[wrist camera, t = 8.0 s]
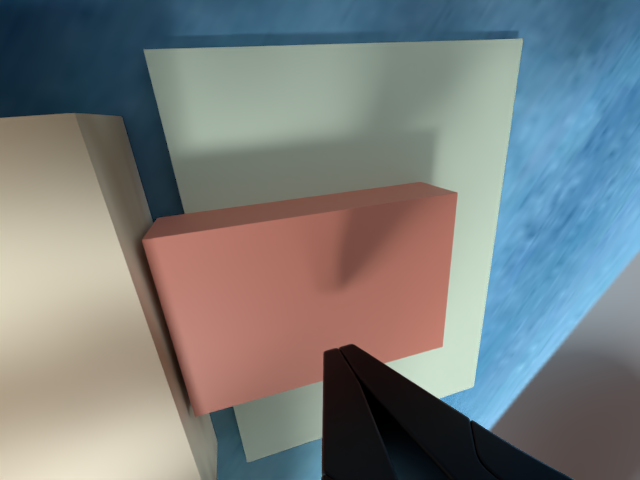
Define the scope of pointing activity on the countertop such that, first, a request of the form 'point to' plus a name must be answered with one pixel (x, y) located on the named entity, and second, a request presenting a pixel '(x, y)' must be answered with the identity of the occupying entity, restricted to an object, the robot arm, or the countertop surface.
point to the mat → (348, 165)
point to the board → (85, 315)
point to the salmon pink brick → (301, 286)
